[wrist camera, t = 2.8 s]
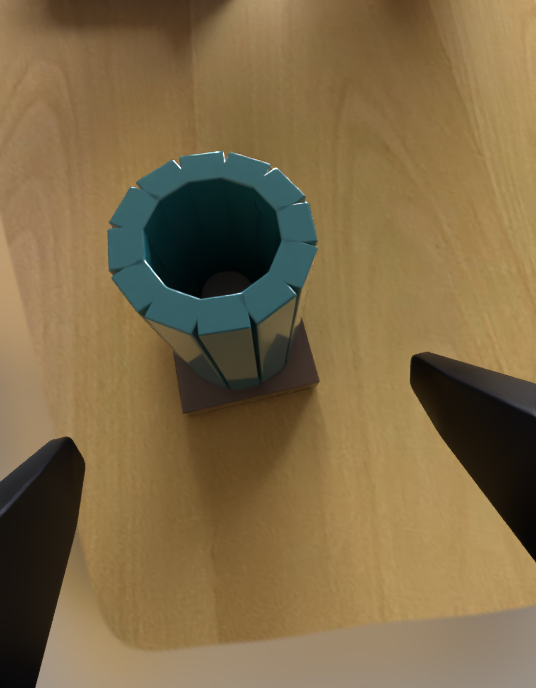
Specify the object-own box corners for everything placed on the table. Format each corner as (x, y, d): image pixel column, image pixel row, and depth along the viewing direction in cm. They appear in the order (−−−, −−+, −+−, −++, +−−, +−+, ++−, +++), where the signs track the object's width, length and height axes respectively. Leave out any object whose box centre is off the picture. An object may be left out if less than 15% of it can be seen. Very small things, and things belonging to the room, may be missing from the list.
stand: (316, 386, 21) (338, 357, 15) (188, 416, 21) (150, 400, 14) (285, 273, 24) (291, 203, 17) (169, 297, 23) (128, 236, 17)
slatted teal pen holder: (270, 406, 20) (272, 365, 10) (162, 364, 20) (67, 289, 11) (309, 302, 21) (342, 184, 12) (209, 267, 22) (163, 129, 13)
